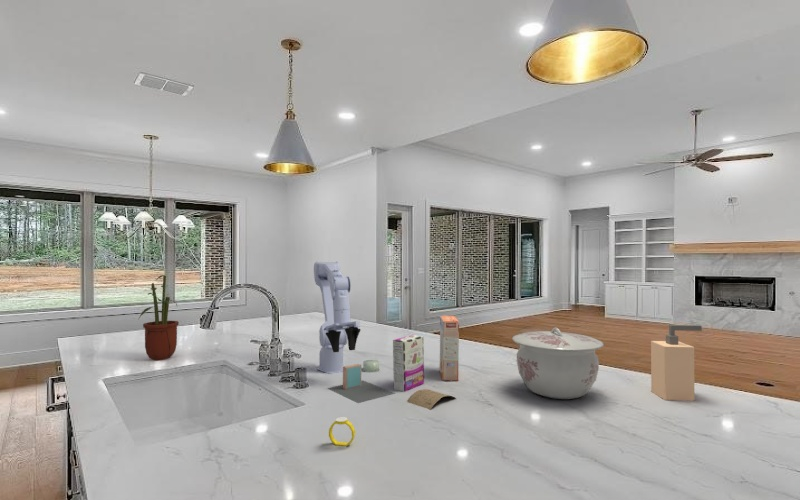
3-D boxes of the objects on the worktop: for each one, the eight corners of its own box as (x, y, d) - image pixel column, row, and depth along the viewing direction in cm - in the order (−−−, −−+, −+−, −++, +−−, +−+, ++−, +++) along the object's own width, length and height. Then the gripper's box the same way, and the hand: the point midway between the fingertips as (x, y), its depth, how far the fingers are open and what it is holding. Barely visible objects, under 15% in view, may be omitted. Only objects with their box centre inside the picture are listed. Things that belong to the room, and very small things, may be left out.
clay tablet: (430, 412, 123) (430, 402, 123) (402, 404, 129) (402, 395, 129) (458, 399, 133) (458, 391, 133) (432, 392, 140) (432, 384, 140)
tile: (342, 388, 142) (342, 366, 142) (358, 384, 146) (358, 363, 146) (346, 389, 140) (346, 367, 140) (361, 386, 144) (361, 364, 144)
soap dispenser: (665, 400, 131) (664, 327, 131) (650, 391, 140) (650, 322, 140) (709, 401, 130) (709, 327, 130) (692, 392, 139) (692, 323, 139)
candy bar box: (412, 381, 150) (412, 334, 150) (424, 384, 147) (424, 335, 147) (392, 389, 141) (392, 339, 141) (404, 392, 138) (404, 341, 138)
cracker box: (459, 381, 150) (459, 320, 151) (442, 381, 151) (442, 320, 151) (455, 370, 164) (455, 315, 165) (439, 370, 165) (439, 315, 165)
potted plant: (185, 357, 185) (185, 274, 185) (147, 365, 172) (147, 276, 172) (162, 352, 194) (162, 273, 194) (124, 359, 181) (125, 275, 181)
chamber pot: (575, 415, 119) (574, 339, 119) (494, 390, 140) (494, 326, 141) (621, 394, 137) (620, 328, 137) (543, 375, 158) (543, 318, 158)
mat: (327, 389, 142) (327, 388, 142) (362, 381, 151) (362, 380, 151) (358, 404, 128) (358, 403, 128) (395, 394, 137) (395, 393, 137)
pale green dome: (360, 370, 164) (360, 361, 164) (373, 368, 168) (373, 359, 168) (369, 374, 160) (369, 364, 160) (382, 371, 163) (382, 362, 163)
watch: (328, 447, 100) (326, 421, 100) (332, 442, 103) (330, 416, 103) (353, 447, 99) (351, 421, 99) (356, 442, 102) (355, 416, 102)
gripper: (318, 313, 152) (320, 353, 149) (348, 307, 144) (351, 349, 141) (333, 314, 158) (335, 352, 154) (363, 308, 150) (365, 348, 146)
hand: (343, 351), depth 148 cm, fingers open, 7 cm apart
